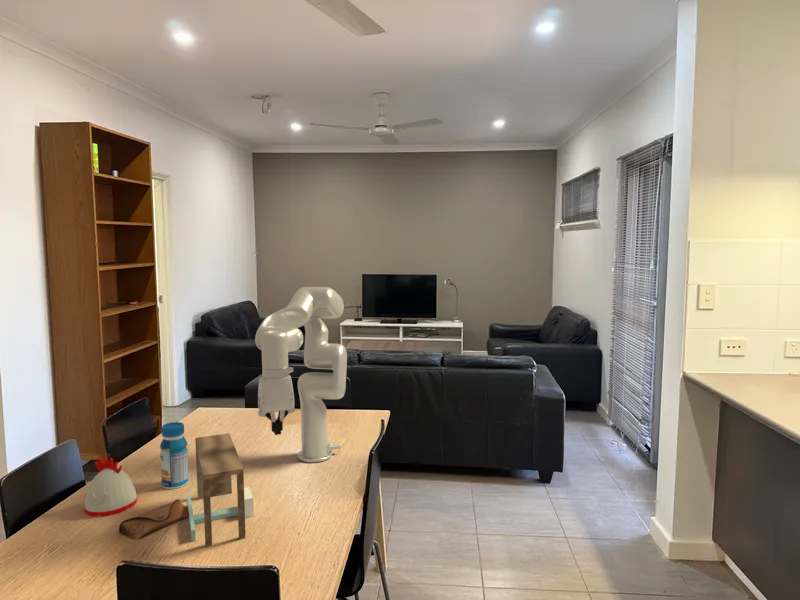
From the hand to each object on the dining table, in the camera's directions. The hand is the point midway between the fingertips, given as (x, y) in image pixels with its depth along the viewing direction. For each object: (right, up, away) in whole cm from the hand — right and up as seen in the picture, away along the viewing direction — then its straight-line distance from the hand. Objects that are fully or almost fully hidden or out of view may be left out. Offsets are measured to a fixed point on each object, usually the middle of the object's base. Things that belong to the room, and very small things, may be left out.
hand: (277, 433), depth 158 cm
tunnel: (-15, -23, -5) cm, 28 cm away
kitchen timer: (-50, -23, +2) cm, 55 cm away
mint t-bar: (-15, -22, -5) cm, 27 cm away
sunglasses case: (-31, -24, -9) cm, 40 cm away
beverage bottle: (-37, -21, +16) cm, 46 cm away
